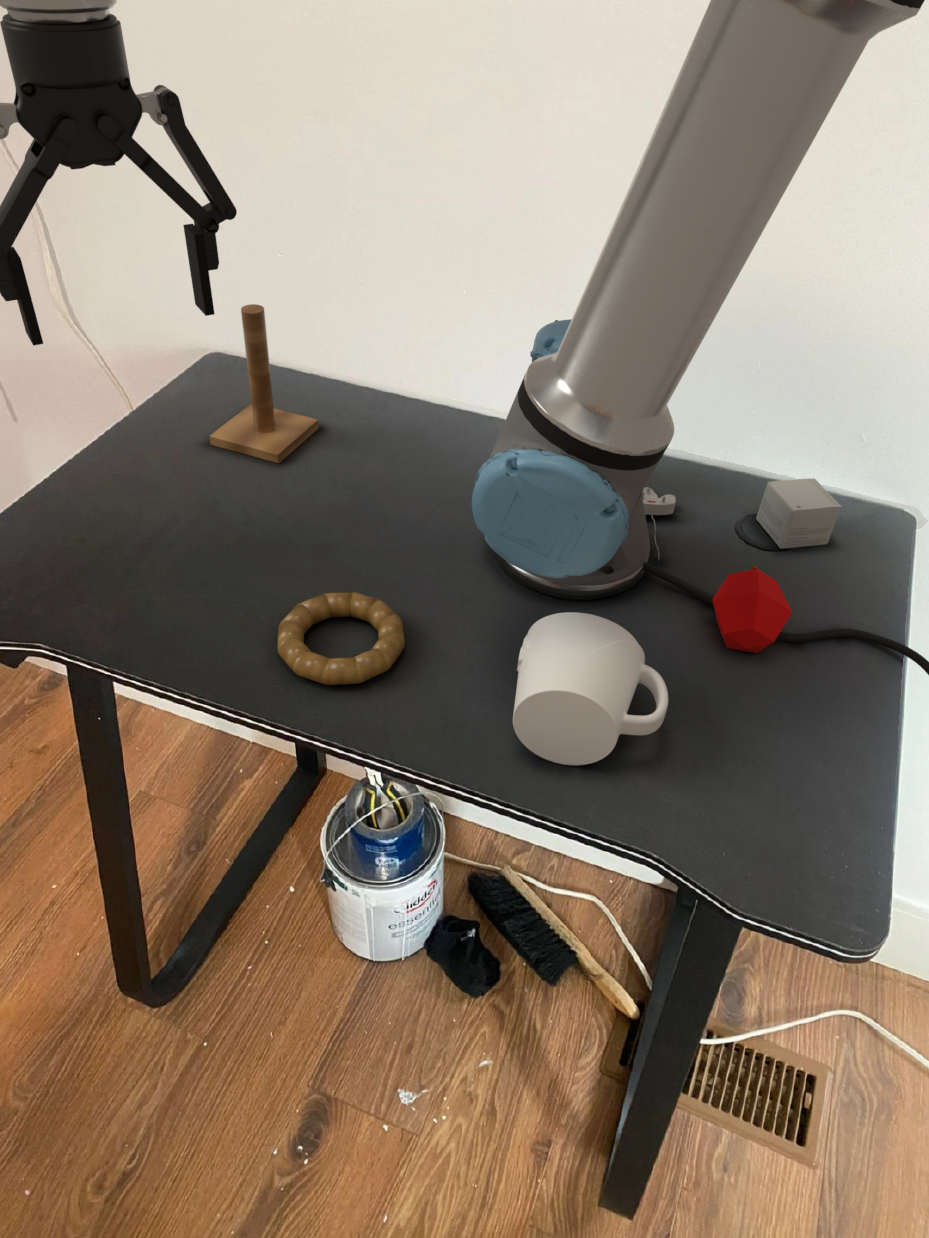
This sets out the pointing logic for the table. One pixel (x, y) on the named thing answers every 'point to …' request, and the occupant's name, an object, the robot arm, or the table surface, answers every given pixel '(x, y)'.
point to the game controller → (657, 505)
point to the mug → (581, 688)
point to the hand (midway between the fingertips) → (123, 323)
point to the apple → (750, 610)
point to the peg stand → (262, 404)
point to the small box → (798, 513)
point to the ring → (340, 668)
